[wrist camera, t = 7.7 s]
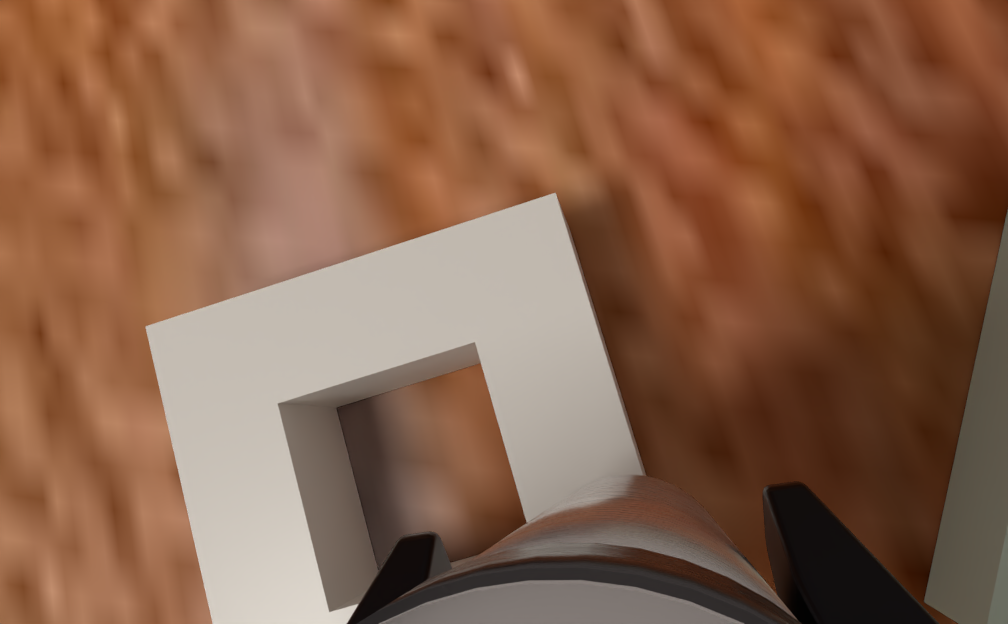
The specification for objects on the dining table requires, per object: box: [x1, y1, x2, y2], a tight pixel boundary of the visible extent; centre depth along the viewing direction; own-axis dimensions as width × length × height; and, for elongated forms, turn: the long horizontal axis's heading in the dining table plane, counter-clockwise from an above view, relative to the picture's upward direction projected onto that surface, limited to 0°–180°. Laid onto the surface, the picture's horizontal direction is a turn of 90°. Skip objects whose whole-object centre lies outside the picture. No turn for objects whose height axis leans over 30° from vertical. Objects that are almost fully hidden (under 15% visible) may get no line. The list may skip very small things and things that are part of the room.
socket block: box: [146, 193, 646, 624], centre depth 22 cm, size 10×10×4 cm
